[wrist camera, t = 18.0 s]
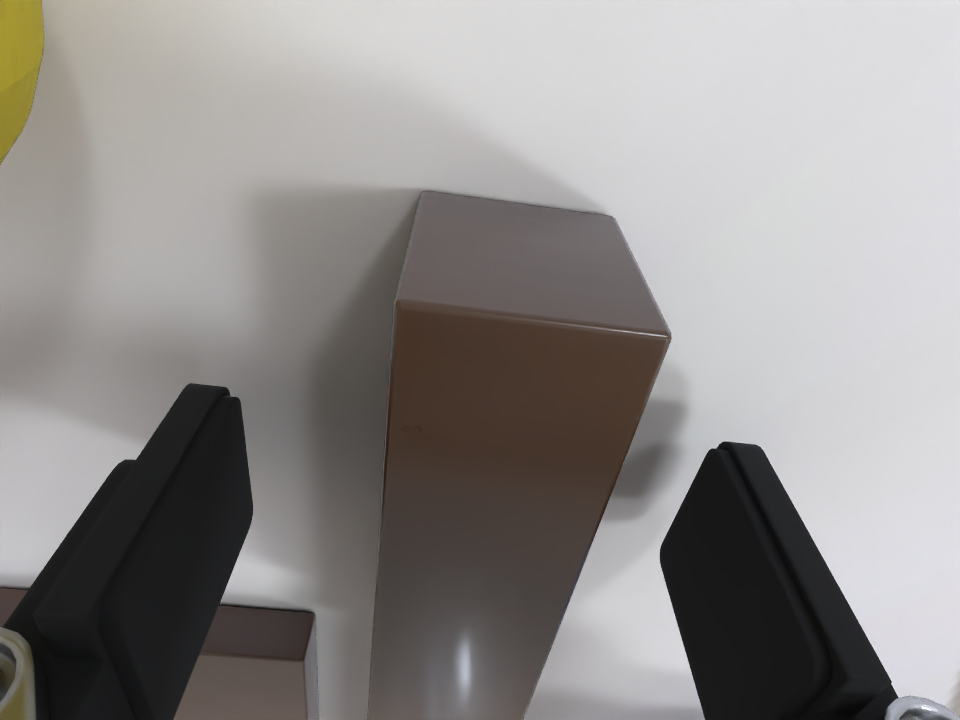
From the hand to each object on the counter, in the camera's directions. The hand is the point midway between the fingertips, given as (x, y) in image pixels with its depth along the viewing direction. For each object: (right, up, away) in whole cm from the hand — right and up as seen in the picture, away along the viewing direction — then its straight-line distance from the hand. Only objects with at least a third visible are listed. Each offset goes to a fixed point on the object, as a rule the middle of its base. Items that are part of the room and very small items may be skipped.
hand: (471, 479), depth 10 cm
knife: (-1, -5, +4) cm, 6 cm away
